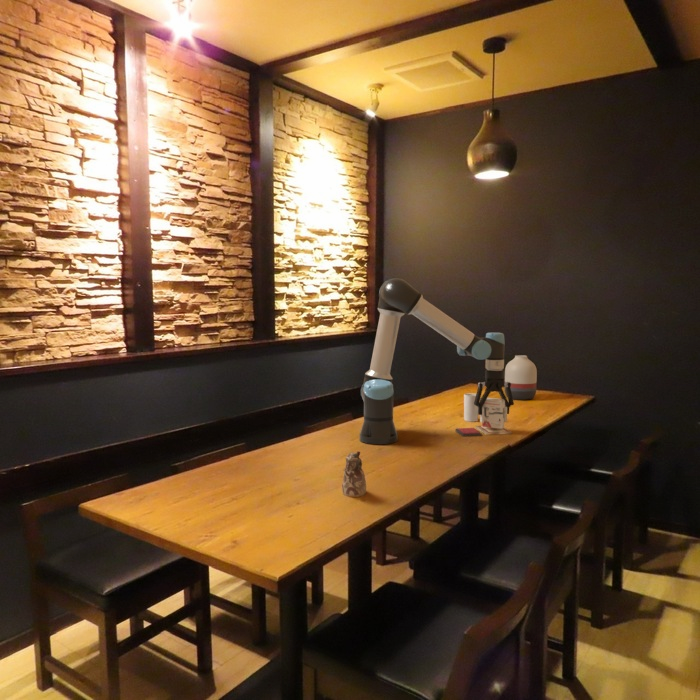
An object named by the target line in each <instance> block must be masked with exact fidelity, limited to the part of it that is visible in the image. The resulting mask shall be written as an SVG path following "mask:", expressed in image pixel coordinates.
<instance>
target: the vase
mask: <svg viewBox="0 0 700 700" xmlns="http://www.w3.org/2000/svg"><path fill="white" fill-rule="evenodd" d="M537 372H538V370H537V367H536V365H535V363H534V362H532V360H530V359H529V358H528V355H522V354H521V355H520V354H519V355H517V354H515V355H514V358H513V359H512V360H510V361H508V362H507V364H505V368H504V382H510V383H511V387H510V388H511V393H512V397H513V400H516V401H528V400H532V399H534V398H535V397H536V394H537V382H538V381H537V379H538V378H537V375H538V373H537ZM504 394H505V396H506V397H507V392H506V387H505V386H504Z"/></svg>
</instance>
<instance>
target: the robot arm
mask: <svg viewBox="0 0 700 700" xmlns="http://www.w3.org/2000/svg"><path fill="white" fill-rule="evenodd" d="M378 297H379V299H378V305H377V311H378V312H379V317H378V318H379V319H378V324H377V327H376V328H377V329H376V334H375V339H374V345H373V350H372V356H371V361H370V365H369V366H370V367H369V370H367V371H366V372H365V373H364V378H363V384H362V385H361V388H360V396H361V399H362V400H363V422H362V426H361V429H360V432H359V441H360V442H362V443H364V444H370V445H389V444H394V443H396V442H398V432H397V429H396V428H397V427H396V425H395V423H394V393H395V391H394V384H393V380H394V379H393V376H392V375H391V370H392V363H393V360H394V354H395V348H396V343H397V337H398V333H399V327H400V322H401V318H402V317H403V316H405V314H406V315H408V316H409V315H412V316H414V317H416V318H417V319H419V320H420V321H421V322H422V323H424V324H425V325H427V326H428V327H430V328H431V329H433V330H434V331H436V333H438V334H440V335H441V336H443V337H444V338H446V339H447V340H448V341H450V342H451V343H452V344H454V345H456V352H457V354H458V355H459V356H463V357H466V356H470V357H472V358H474V359H476V360H481V361H482V360H483V361H484V360H485V365H484V366H485V367H484V368H485V371H484V374H485V375H484V377H485V380H484V381H483V382H477V390H476V393H475V394H476V397H475V401H474V405H476V406H478V414H479V415H478V416H479V422H480V423H481V424H482V423H484V407H483V405H484V403H485V401H486V399H487V398H489V395H490V394H491V393H494V392H497V393H498V394H499V397H500V399H504V400H505V423H507V422H508V415H509V414H510V407H512V406H514V404H515V403H514V402H515V401H514V399H513V397H512V393H511V388H510V387H511V383H510V382H505V368H504V367H505V334H504V333H503V332H487V333H485V337H479V335H478V336H477V335H476V334H474V333H473V332H472V331H470V330H469V329H468V328H466V326H465V327H464V325H462V324H461V323H459V322H458V321H456V320H454V319H453V318H452V317H450V316H449V315H447V314H446V313H445V312H443V311H442V310H441V309H439V308H437V307H436V305H433V304H432V303H430V302H429V301H428V300H426V299H425V298H424V297H423V294H422V293H421V292H420V291H418V290H417V289H415V288H414V287H413V286H412V285H411V284H410V283H408V281H406V280H405V279H403V278H398V277H397V278H390V279H387V280H386V281H384V282H383V283H382V284H381V286H380V288H379V293H378ZM484 386H485V389H483V388H484ZM503 387H504V388H505V387H506V392H507V396H506V394H505V391H504V389H503ZM483 390H484V393H483V394H482V392H483ZM481 396H482V398H481ZM480 398H481V400H480Z"/></svg>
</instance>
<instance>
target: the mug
mask: <svg viewBox="0 0 700 700" xmlns="http://www.w3.org/2000/svg"><path fill="white" fill-rule="evenodd" d="M475 397H476V393H472V392H471V393H468V392H467V393H464V394H463V420H464V421H465V422H470V423H471V422H472V423H473V422H478V421H479V416H480V415H479V414H478V406H476V405H474V401H475ZM481 398H482V397H480V400H481Z"/></svg>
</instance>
